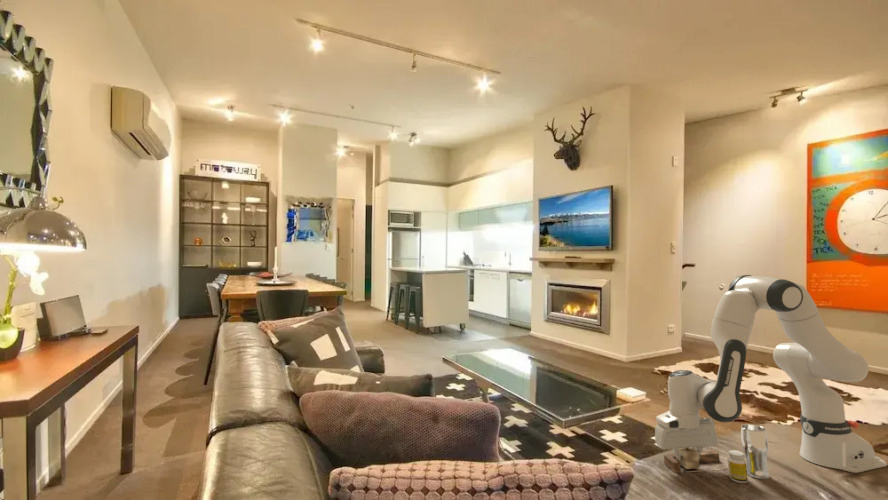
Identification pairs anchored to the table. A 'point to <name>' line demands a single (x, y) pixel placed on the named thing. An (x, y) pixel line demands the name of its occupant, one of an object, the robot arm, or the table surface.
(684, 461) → the block
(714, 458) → the fence board
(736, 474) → the supplement bottle
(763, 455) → the beer glass
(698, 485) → the table surface
